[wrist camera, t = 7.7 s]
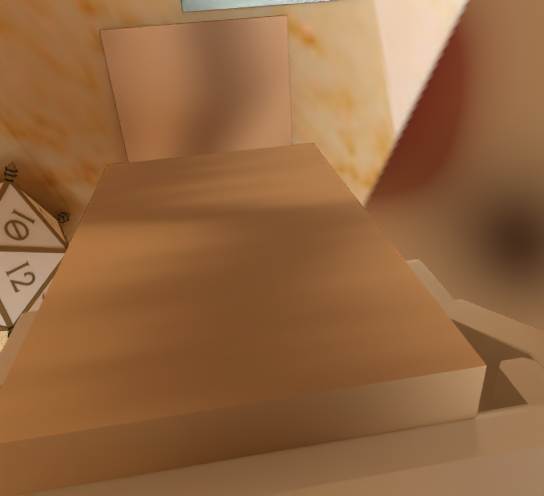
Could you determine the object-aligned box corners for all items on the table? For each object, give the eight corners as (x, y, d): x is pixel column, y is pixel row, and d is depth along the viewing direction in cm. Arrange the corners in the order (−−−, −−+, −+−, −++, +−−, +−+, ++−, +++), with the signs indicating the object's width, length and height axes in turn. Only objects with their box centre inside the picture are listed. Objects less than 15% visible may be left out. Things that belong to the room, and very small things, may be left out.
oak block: (147, 330, 14) (102, 680, 7) (106, 164, 11) (-28, 447, 4) (316, 306, 14) (435, 610, 7) (313, 142, 12) (486, 365, 5)
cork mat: (138, 201, 27) (137, 204, 27) (100, 29, 23) (99, 30, 23) (292, 184, 28) (294, 186, 28) (285, 15, 24) (286, 15, 23)
